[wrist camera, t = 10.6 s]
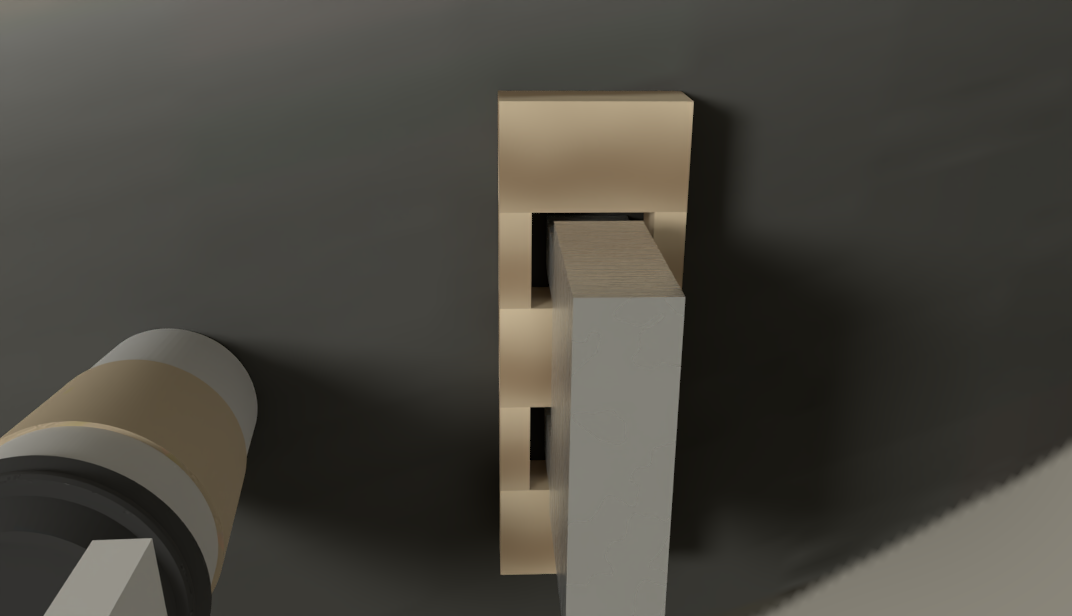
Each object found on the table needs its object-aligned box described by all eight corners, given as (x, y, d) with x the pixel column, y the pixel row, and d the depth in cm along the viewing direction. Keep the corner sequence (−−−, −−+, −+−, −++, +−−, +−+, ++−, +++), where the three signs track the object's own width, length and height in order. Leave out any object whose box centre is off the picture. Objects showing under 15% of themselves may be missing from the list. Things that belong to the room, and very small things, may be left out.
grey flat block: (546, 193, 40) (573, 298, 28) (627, 193, 40) (685, 297, 29) (543, 462, 44) (564, 645, 33) (616, 460, 44) (662, 642, 33)
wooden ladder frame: (497, 90, 38) (499, 101, 36) (680, 91, 39) (694, 101, 36) (499, 541, 45) (500, 575, 43) (654, 538, 46) (663, 571, 43)
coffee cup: (314, 348, 41) (229, 562, 27) (248, 524, 44) (141, 801, 30) (94, 271, 40) (-115, 457, 26) (41, 460, 43) (-174, 719, 29)
